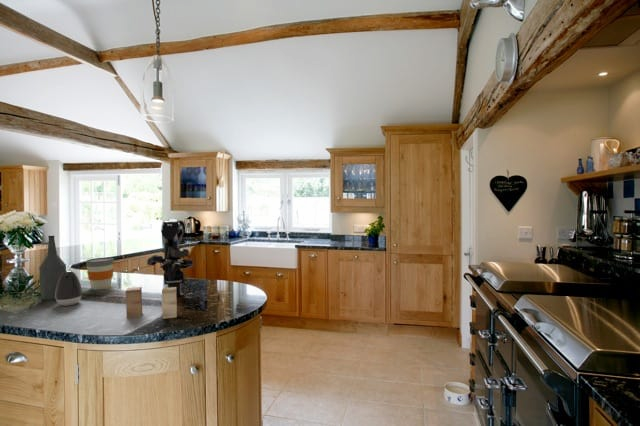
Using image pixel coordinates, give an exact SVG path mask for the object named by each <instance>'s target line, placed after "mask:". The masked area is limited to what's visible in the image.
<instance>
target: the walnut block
mask: <svg viewBox="0 0 640 426" xmlns="http://www.w3.org/2000/svg"><path fill="white" fill-rule="evenodd" d="M142 289H143V288H142V286H134V287H127V288H126V290H125V307H126V309H125V310H126V319H132V318H140V317H142V315H143V297H142V296H143V294H142V292H143V291H142Z"/></svg>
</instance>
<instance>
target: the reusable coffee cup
mask: <svg viewBox="0 0 640 426" xmlns="http://www.w3.org/2000/svg"><path fill="white" fill-rule="evenodd" d="M114 263H115V262H114V258H113V257H96V258H89V259H87V260H86V268H87V271H86V273H87V279H88V280H89V283H90V284H89V285H90V289H91V290H104V289H109V288H111V286H112V279H113V276H114Z"/></svg>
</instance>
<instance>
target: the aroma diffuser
mask: <svg viewBox="0 0 640 426" xmlns="http://www.w3.org/2000/svg"><path fill="white" fill-rule="evenodd" d="M83 294H84V293H83V288H82V285H81V283H80V280H79V278H78V276H77V274H76V273H75V272H74V271H72V270H66V271H65V272H63V273H62V274H61V276H60V277H59V280H58V282H57V286H56V291H55V299H54V300H55V301H56V303H57V304H58V305H59V306H63V307H67V306H73V305H76V304H78V303H79V302H80V301H81V299H82V296H83Z"/></svg>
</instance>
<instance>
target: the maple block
mask: <svg viewBox="0 0 640 426" xmlns="http://www.w3.org/2000/svg"><path fill="white" fill-rule="evenodd" d="M161 297H162V298H161V302H162V303H161V305H162V308H161V309H162V319H163V320H164V319H173V318H177V317H178V306H177V305H178V304H177V303H178V301H177V298H178V297H177V295H176V287H170V288H168V287H163V288H162V290H161Z"/></svg>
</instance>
